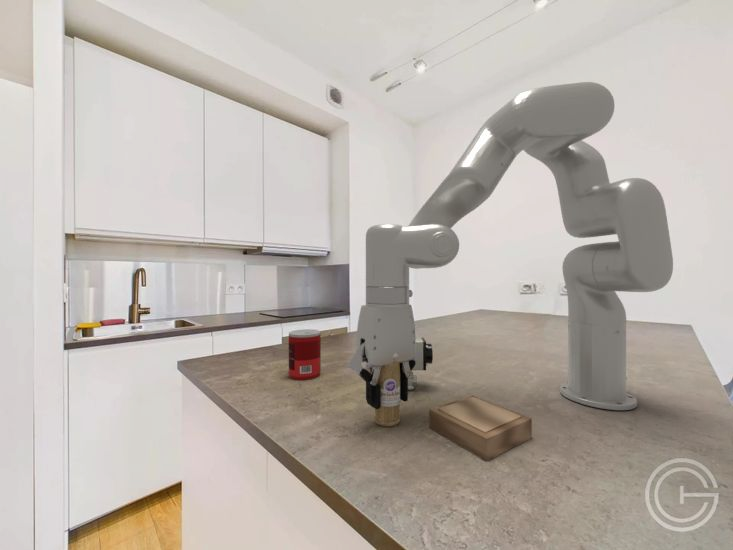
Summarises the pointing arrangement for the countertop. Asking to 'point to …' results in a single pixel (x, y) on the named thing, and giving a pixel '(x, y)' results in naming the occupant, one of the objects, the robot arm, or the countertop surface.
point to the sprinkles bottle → (389, 395)
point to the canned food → (304, 354)
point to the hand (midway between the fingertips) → (387, 401)
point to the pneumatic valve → (421, 360)
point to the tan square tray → (480, 426)
